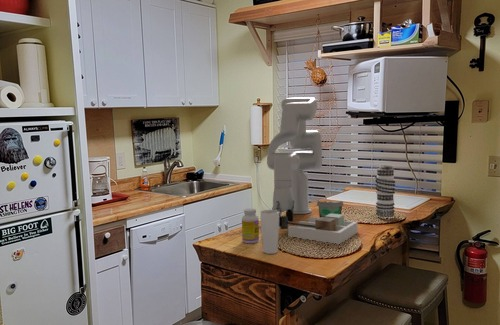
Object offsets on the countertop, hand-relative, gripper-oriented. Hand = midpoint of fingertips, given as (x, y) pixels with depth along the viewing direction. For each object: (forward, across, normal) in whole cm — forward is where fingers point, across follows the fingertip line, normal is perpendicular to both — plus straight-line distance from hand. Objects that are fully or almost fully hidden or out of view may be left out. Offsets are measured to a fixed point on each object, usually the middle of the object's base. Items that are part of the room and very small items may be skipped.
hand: (284, 223), depth 178 cm
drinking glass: (+4, +26, +9) cm, 28 cm away
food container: (+4, -25, +10) cm, 27 cm away
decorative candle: (+4, -48, +29) cm, 56 cm away
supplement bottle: (+4, +18, -5) cm, 19 cm away
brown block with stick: (+2, 0, +10) cm, 10 cm away
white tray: (+4, -5, +16) cm, 17 cm away
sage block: (+2, -9, +19) cm, 21 cm away
